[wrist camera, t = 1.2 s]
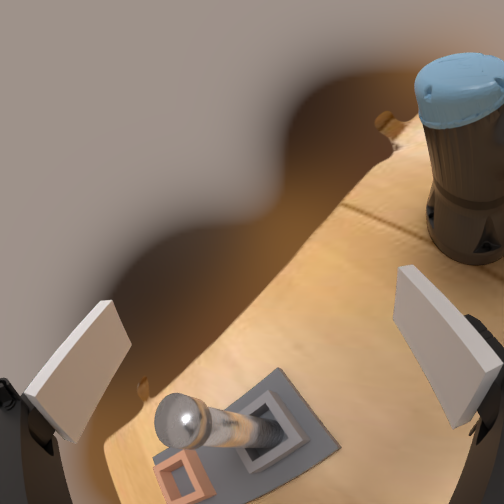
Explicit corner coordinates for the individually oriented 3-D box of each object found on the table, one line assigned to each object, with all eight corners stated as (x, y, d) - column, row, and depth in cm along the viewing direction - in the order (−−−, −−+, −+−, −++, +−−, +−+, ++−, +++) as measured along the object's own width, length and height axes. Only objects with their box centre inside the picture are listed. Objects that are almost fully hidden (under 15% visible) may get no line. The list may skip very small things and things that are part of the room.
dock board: (281, 369, 35) (268, 362, 33) (341, 447, 24) (332, 449, 22) (157, 458, 35) (140, 455, 33) (186, 525, 24) (169, 527, 22)
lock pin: (274, 408, 31) (183, 382, 21) (294, 437, 27) (204, 431, 17) (246, 428, 31) (149, 410, 21) (263, 457, 27) (164, 456, 17)
